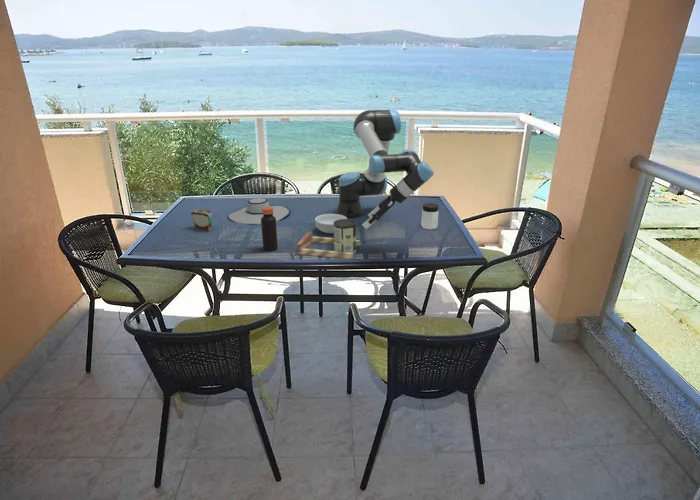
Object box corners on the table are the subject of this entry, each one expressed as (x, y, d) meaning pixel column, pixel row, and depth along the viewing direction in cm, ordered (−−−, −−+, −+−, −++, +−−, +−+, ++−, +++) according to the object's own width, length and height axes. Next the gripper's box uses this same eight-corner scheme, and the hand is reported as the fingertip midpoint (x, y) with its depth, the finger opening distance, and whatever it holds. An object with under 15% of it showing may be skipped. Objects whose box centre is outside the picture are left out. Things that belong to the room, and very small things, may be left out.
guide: (297, 254, 206) (297, 244, 204) (308, 240, 221) (308, 231, 220) (352, 259, 201) (352, 248, 199) (360, 245, 216) (360, 235, 214)
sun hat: (293, 205, 277) (292, 191, 274) (287, 225, 244) (286, 209, 241) (234, 206, 276) (233, 191, 273) (220, 226, 243) (218, 210, 240)
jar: (428, 230, 234) (429, 208, 230) (417, 226, 241) (419, 204, 236) (440, 227, 239) (442, 205, 234) (430, 223, 245) (431, 201, 240)
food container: (219, 228, 238) (216, 210, 234) (211, 232, 233) (208, 214, 229) (201, 225, 243) (198, 207, 239) (192, 228, 237) (190, 210, 233)
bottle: (265, 245, 216) (262, 205, 208) (279, 246, 215) (276, 206, 207) (261, 251, 210) (258, 210, 202) (275, 251, 209) (272, 210, 201)
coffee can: (345, 245, 216) (344, 217, 211) (360, 250, 210) (360, 222, 204) (329, 251, 210) (328, 222, 204) (344, 257, 203) (344, 228, 198)
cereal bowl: (335, 239, 223) (335, 226, 220) (308, 233, 231) (308, 220, 228) (353, 229, 236) (353, 216, 234) (327, 223, 244) (327, 211, 242)
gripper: (404, 206, 182) (367, 237, 191) (410, 189, 204) (377, 218, 213) (392, 192, 181) (355, 225, 190) (399, 177, 203) (366, 207, 212)
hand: (367, 221), depth 202 cm, fingers open, 13 cm apart
